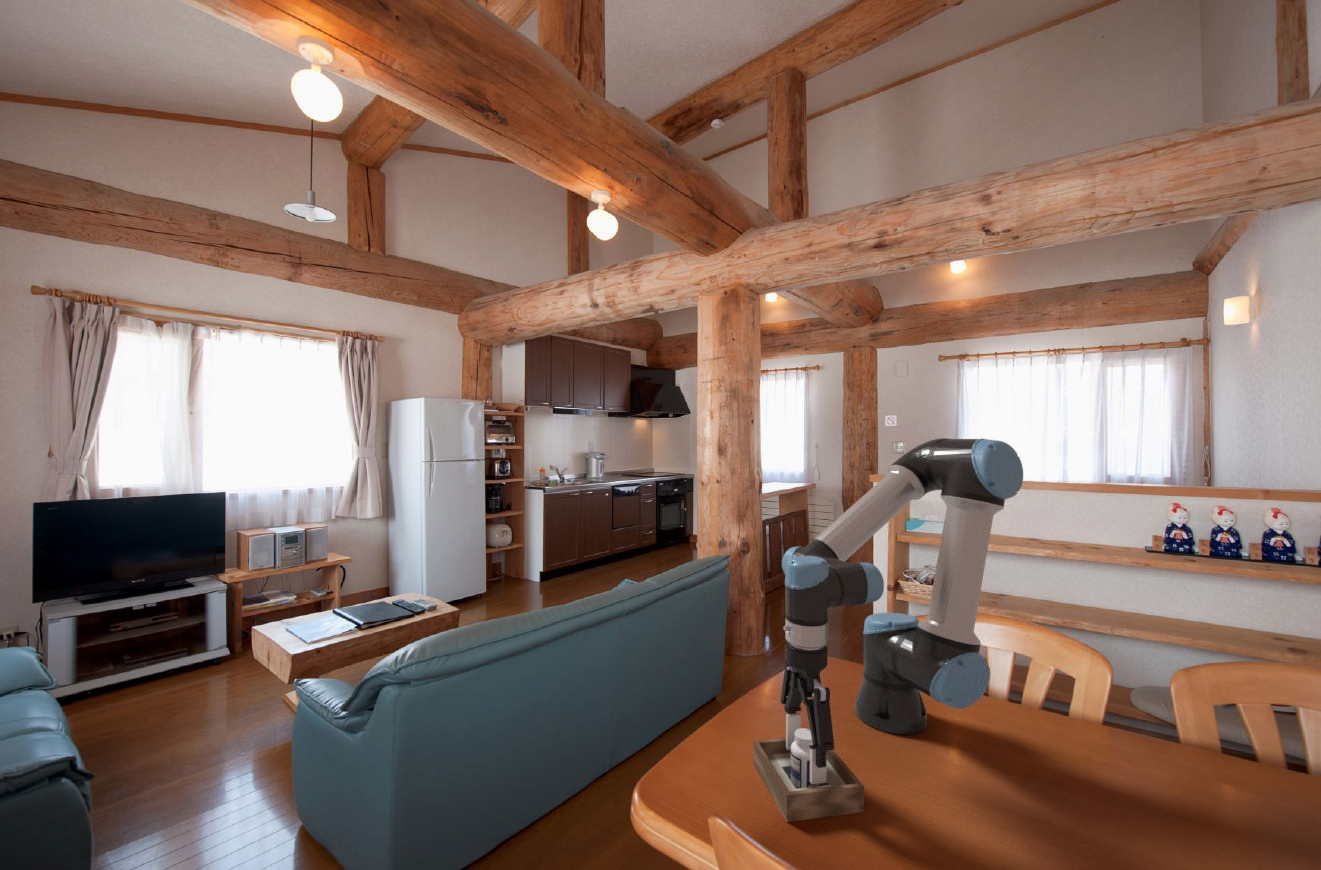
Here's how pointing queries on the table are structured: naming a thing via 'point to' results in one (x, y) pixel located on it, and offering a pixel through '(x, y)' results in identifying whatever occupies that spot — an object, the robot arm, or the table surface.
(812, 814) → the box
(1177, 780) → the table surface
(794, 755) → the pill bottle
